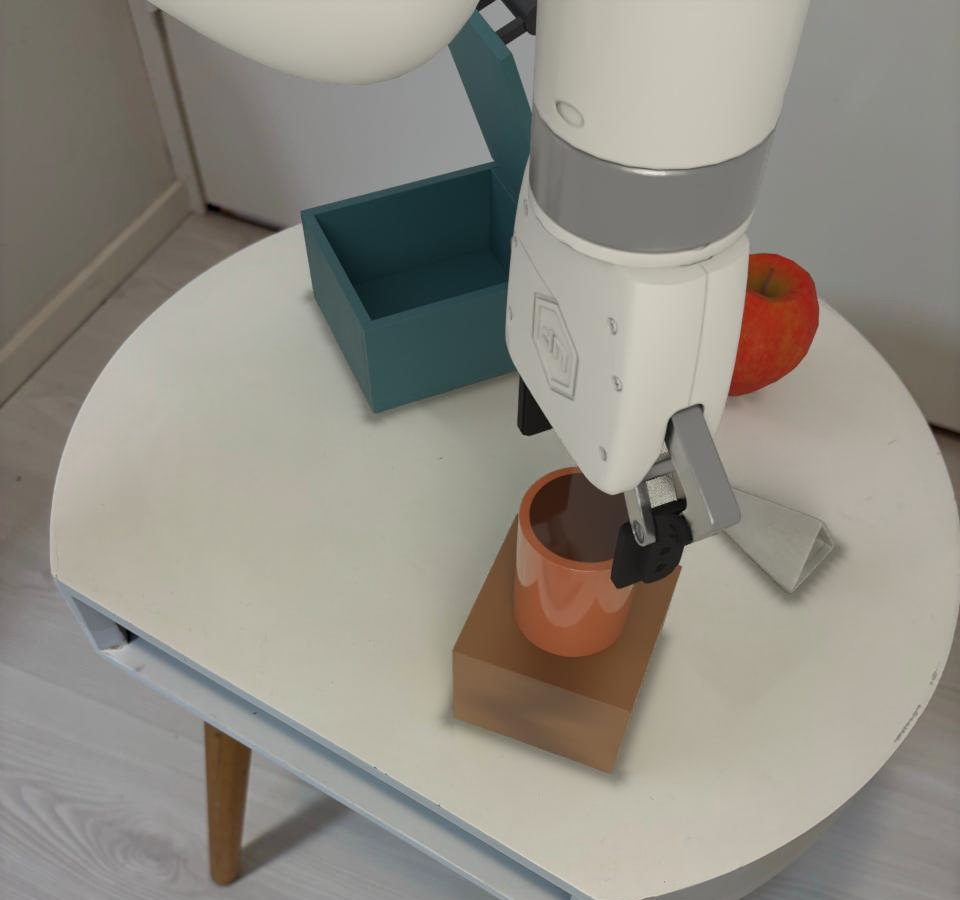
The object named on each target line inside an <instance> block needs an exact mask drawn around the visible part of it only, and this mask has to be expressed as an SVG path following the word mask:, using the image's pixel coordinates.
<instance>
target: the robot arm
mask: <svg viewBox="0 0 960 900" xmlns="http://www.w3.org/2000/svg"><path fill="white" fill-rule="evenodd" d="M146 1H147V2H149V3H150V4H151V5H153V6H154V7H156V8H157V9H159V10H160V11H163V12H165V13H166V14H168V15H169V16H171V17H173V18H174V19H176V20H178V21H180V22H181V23H183V24H185V25H186V26H188V27H189V28H191V29H192V30H194V31H196V32H197V33H199V34H201V35H202V36H205V37H206V38H208V39H209V40H212V41H214V43H217V44H218V45H221V46H223V47H224V48H226V49H228V50H230V51H232V52H234V53H236V54H238V55H240V56H242V57H244V58H247V59H249V60H252V61H254V62H255V63H258V64H261V65H264V66H265V67H268V68H270V69H273V70H275V71H277V72H280V73H283V74H286V75H288V76H291V77H296V78H299V79H305V80H308V81H312V82H317V83H322V84H324V85H325V84H326V85H336V86H337V85H338V86H341V85H343V86H367V85H372V84H377V83H383V82H387V81H390V80H394V79H399V78H400V77H402V76H404V75H406V74H408V73H410V72H413V71H414V70H417V69H418V68H420V67H422V66H423V65H425V64H427V63H428V62H429V61H431V60H432V59H433V58H434V57H436V55H438V54H439V53H440V52H441V51H443V50H444V49H445V48H447V47H448V44H449V43H450V42H451V41H452V40H453V39H454V37H455V36H456V35H457V34H458V33H459V32H460V30H461V29H462V28H463V26H464V25H465V23H466V22H467V21H468V19H469V18H470V17H471V15H472V13H473V12H474V10H475V8H476V6H477V4H478V2H479V0H146ZM811 2H812V0H537V19H536V36H535V43H534V45H535V46H534V64H533V80H532V81H533V83H532V85H533V88H532V89H533V90H532V100H531V101H532V102H531V103H532V104H531V112H532V122H531V143H530V154H529V158H528V161H527V164H526V168H525V172H524V176H523V181H522V185H521V190H520V194H519V200H518V206H517V212H516V218H515V226H514V233H513V236H512V237H511V241H510V243H511V260H510V271H509V282H508V295H507V309H506V344H507V348H508V351H509V354H510V356H511V359H512V361H513V363H514V365H515V367H516V369H517V370H516V371H517V372H518V374H519V375H518V376H519V377H518V394H517V396H518V397H517V416H516V417H517V419H516V427H517V428H518V430H519V431H520V434H521V435H523V436H527V437H531V436H535V435H538V434H541V433H545V432H547V431H551V430H554V432H555V434H556V435H557V436H558V438H559V440H560V441H561V443H562V444H563V446H564V447H565V449H566V450H567V452H568V453H569V455H570V457H571V458H572V460H573V461H574V462H575V464H576V466H578V467H579V468H580V470H581V471H582V472H583V474H584V475H585V477H586V478H587V479H588V480H589V481H590V482H591V483H592V484H593V485H594V486H596V487H597V488H598V489H600V490H601V491H603V492H605V493H607V494H610V495H615V494H618V493H622V492H624V497H625V502H626V506H627V511H628V516H629V520H630V521H628V522H626V523H624V524H623V525H622V526H621V527H620V529H619V534H618V539H617V544H616V549H615V554H614V559H613V564H612V569H611V576H610V579H611V581H612V582H613V584H614V586H615V587H616V588H617V589H621V588H624V587H627V586H630V585H632V584H635V583H638V582H640V581H643V582H644V583H646V584H649V583H653V582H656V581H658V580H661V579H663V578H665V577H667V576H668V575H670V574H671V573H672V572H673V571H674V569H675V567H677V566H678V565H680V563H681V559H682V556H683V553H684V549H685V547H686V546H689V545H691V544H694V543H697V542H699V541H702V540H705V539H707V538H711V537H713V536H716V535H718V534H720V533H721V532H724V530H726V529H728V528H730V527H732V526H734V525H736V524H738V523H739V522H740V519H741V512H740V509H739V506H738V503H737V501H736V498H735V496H734V493H733V490H732V488H733V487H732V485H731V484H730V480H729V477H728V474H727V473H726V470H725V467H724V465H723V461H722V460H721V457H720V455H719V452H718V450H717V447H716V444H715V439H716V437H717V435H718V431H719V428H720V425H721V422H722V419H723V415H724V411H725V407H726V404H727V400H728V397H729V396H728V393H729V388H730V384H731V379H732V375H733V370H734V366H735V360H736V354H737V349H738V343H739V338H740V331H741V325H742V318H743V311H744V303H745V294H746V285H747V277H748V276H747V275H748V262H749V254H750V248H751V242H750V239H749V237H748V234H747V232H746V231H747V229H748V228H749V226H750V225H751V222H752V219H753V216H754V214H755V210H756V206H757V203H758V199H759V194H760V190H761V186H762V182H763V179H764V175H765V173H766V172H765V171H766V167H767V164H768V160H769V156H770V153H771V149H772V146H773V141H774V137H775V134H776V131H777V127H778V123H779V119H780V115H781V112H782V109H783V105H784V102H785V98H786V94H787V89H788V86H789V83H790V79H791V75H792V72H793V69H794V64H795V61H796V57H797V53H798V50H799V46H800V43H801V39H802V35H803V31H804V27H805V24H806V19H807V16H808V13H809V9H810V5H811ZM664 444H665V447H666V450H667V451H665V452H663V448H664ZM670 473H672V479H673V480H672V479H671V480H672V483H673V488H674V494H675V498H676V499H673V500H670V501H668V502H665V503H662V504H659V505H657V506H653V507H652V503H651V499H650V498H651V497H650V493H649V488H648V484H647V482H649V481H652V480H655V479H658V478H661V477H664V476H668V475H667V474H670ZM731 487H732V488H731Z"/></svg>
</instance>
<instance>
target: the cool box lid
mask: <svg viewBox="0 0 960 900" xmlns="http://www.w3.org/2000/svg"><path fill="white" fill-rule="evenodd" d="M496 1H497V0H479V2H478V4H477V6H476V8H475V10H474V12H473V13H472V15H471V17H470V18H469V19H468V21H467V22H466V23H465V25H464V26H463V28H462V29H461V30H460V32H459V33H458V34H457V35H456V36H455V37H454V39H453V40H452V41H451V42H450V43H449V44H448V45H447V47H448V49H449V52H450V54H451V55H450V56H451V57H452V60H453V63H454V66H455V67H456V70H457V72H458V75H459V77H460V80H461V83H462V85H463V88H464V91H465V93H466V95H467V98H468V101H469V103H470V107H471V108H472V111H473V114H474V116H475V119H476V122H477V124H478V126H479V130H480V131H481V134H482V136H483V140H484V142H485V144H486V147H487V150H488V152H489V155H490V157H491V159H492V160H493V161H495V163H496V164H497V166H498V167H499V168H500V170H501V171H502V173H503V174H504V175H505V177H506V178H507V180H508V181H509V182H510V184H511V185H512V186H513V188H514V189H515V191H516V192H517V193H518V195H519V194H520V190H521V185H522V181H523V176H524V172H525V168H526V164H527V161H528V158H529V154H530V143H531V122H532V108H531V105H530V103H529V99H528V97H527V93H526V91H525V87H524V84H523V82H522V79H521V76H520V72H519V70H518V67H517V63H516V60H515V58H514V54H513V52H512V51H511V49H509V47H508V46H507V45H508V44H511V42H513V41H515V40H516V39H518V38H519V37H521V36H522V35H524V34H526V33H528V35H530V36H534V37H536V19H537V0H500V1H501V3H502V4H503V5H504V6H505V7H506V8H507V9H508V11H509V12H510V13H511V14H512V16H513V17H514V18H513V19H512V20H511V21H509V22H508V23H506V24H505V25H503V26H502V27H500V28H498V29H497V30H494V29H493V27H492V26H491V25H490V24H489V23H488V21H487V20H486V19H485V17H484V15H482V14H481V13H480V12H481V11H482V10H484V9H485V8H487V7H488V6H490V5H492V4H493V3H494V2H496Z"/></svg>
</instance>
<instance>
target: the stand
mask: <svg viewBox="0 0 960 900" xmlns="http://www.w3.org/2000/svg"><path fill="white" fill-rule="evenodd" d="M518 518H519V513H516V514H515V517H514V518H513V521H512V523H511V525H510V527H509V529H508V532H507V533H506V536H505V538H504V539H503V542H502V544H501V546H500V549H499V551H498V553H497V555H496V557H495V558H494V560H493V563H492V565H491V566H490V567H491V568H490V570H489V572H488V574H487V576H486V578H485V581H484V582H483V585H482V587H481V588H480V591H479V593H478V595H477V597H476V599H475V601H474V604H473V606H472V608H471V610H470V612H469V614H468V616H467V618H466V620H465V622H464V625H463V627H462V629H461V630H460V633H459V635H458V637H457V638H456V639H457V640H456V641H455V644H454V645H453V648H452V650H451V659H452V660H451V661H452V663H451V664H452V699H453V703H452V704H453V718H455V719H457V720H459V721H462V722H465V723H468V724H471V725H473V726H476V727H479V728H481V729H485V730H488V731H491V732H493V733H495V734H499V735H502V736H504V737H507V738H510V739H513V740H515V741H517V742H521V743H524V744H527V745H530V746H532V747H535V748H538V749H541V750H543V751H546V752H549V753H551V754H555V755H557V756H559V757H563V758H565V759H569V760H571V761H574V762H576V763H579V764H582V765H585V766H588V767H590V768H593V769H597V770H599V771H601V772H604V773H607V774H611V775H612V774H613V772H614V769H615V766H616V763H617V760H618V757H619V755H620V752H621V749H622V745H623V744H624V743H623V742H624V740H625V737H626V735H627V732H628V729H629V726H630V724H631V720H632V717H633V715H634V711H635V709H636V706H637V703H638V700H639V698H640V694H641V692H642V688H643V686H644V683H645V680H646V677H647V674H648V672H649V669H650V666H651V664H652V660H653V657H654V654H655V652H656V649H657V646H658V643H659V641H660V637H661V634H662V631H663V628H664V626H665V623H666V619H667V616H668V612H669V609H670V606H671V603H672V601H673V597H674V595H675V591H676V588H677V584H678V581H679V578H680V575H681V572H682V569H683V566H682V565H680V564H678V566H677V567H675V569H674V571H673V572H672V573H671V574H670V575H668V576H667V577H665V578H663V579H661V580H658V581H656V582H653V583H649V584H646V583H644V582H643V581H640V582H638V583H637V586H636V590H635V594H634V597H633V601H632V605H631V609H630V613H629V617H628V620H627V624H626V626H625V629H624V631H623V632H622V634H621V635H620V637H619V638H618V639H617V640H616V641H615V642H614V643H613V644H611V645H610V646H609V647H607V648H606V649H604V650H602V651H600V652H598V653H595V654H592V655H588V656H582V657H565V656H559V655H555V654H552V653H549V652H547V651H544V650H542V649H540V648H539V647H537V646H536V645H534V644H533V643H531V642H530V641H529V640H528V639H527V638H526V637H525V636H524V635H523V633H522V632H521V631H520V629H519V627H518V626H517V624H516V621H515V619H514V615H513V609H512V601H513V587H514V573H515V559H516V546H517V532H518Z"/></svg>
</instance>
